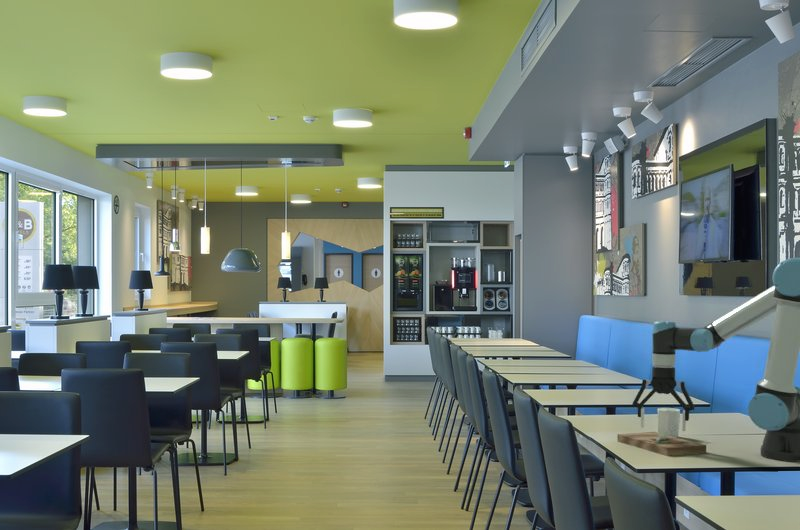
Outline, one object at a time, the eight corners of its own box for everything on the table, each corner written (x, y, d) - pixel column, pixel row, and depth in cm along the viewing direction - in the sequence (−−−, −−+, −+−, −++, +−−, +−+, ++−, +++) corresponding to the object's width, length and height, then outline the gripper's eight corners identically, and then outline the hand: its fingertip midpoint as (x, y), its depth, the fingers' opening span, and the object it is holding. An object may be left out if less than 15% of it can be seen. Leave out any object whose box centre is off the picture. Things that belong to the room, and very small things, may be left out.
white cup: (681, 439, 299) (681, 411, 300) (658, 438, 301) (658, 410, 301) (678, 435, 307) (678, 408, 307) (656, 434, 309) (656, 407, 309)
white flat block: (667, 437, 286) (668, 409, 287) (660, 442, 277) (661, 413, 277) (661, 436, 288) (661, 408, 288) (654, 441, 278) (654, 412, 278)
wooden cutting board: (706, 452, 275) (706, 444, 275) (667, 455, 269) (667, 447, 269) (654, 438, 299) (654, 431, 299) (617, 441, 293) (617, 433, 293)
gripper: (703, 367, 284) (702, 430, 283) (627, 363, 294) (627, 423, 293) (701, 369, 277) (701, 433, 276) (624, 365, 287) (623, 427, 286)
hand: (663, 428), depth 285 cm, fingers open, 13 cm apart
